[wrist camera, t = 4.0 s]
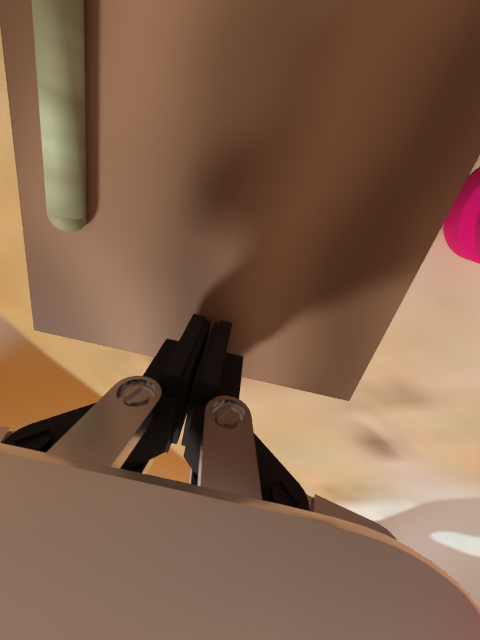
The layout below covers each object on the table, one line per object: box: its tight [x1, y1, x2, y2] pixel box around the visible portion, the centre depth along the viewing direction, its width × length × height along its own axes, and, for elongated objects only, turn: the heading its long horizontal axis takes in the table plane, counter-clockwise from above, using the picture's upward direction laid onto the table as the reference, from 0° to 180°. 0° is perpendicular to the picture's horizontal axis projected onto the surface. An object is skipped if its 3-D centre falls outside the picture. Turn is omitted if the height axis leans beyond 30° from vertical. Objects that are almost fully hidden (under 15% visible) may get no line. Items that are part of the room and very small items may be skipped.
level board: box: [0, 0, 480, 401], centre depth 9 cm, size 15×18×2 cm
